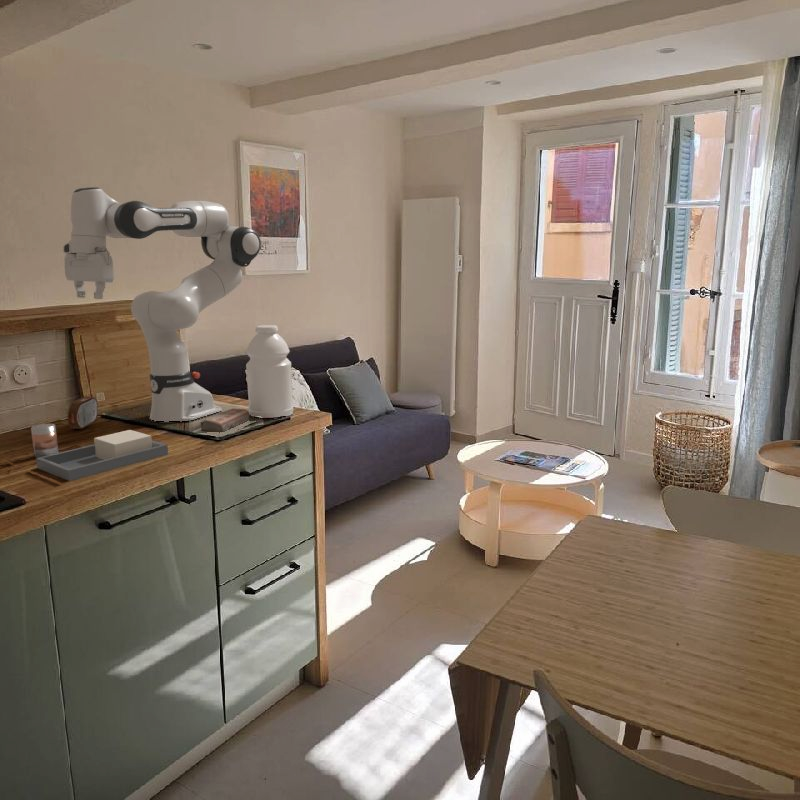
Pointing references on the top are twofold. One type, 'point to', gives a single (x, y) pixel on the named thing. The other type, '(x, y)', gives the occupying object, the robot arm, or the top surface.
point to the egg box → (121, 444)
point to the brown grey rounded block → (82, 412)
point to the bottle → (269, 374)
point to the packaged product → (224, 421)
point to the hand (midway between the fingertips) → (89, 298)
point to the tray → (93, 461)
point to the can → (44, 440)
